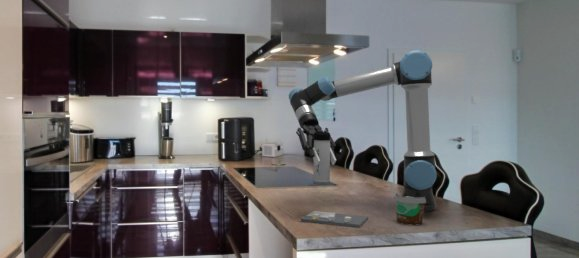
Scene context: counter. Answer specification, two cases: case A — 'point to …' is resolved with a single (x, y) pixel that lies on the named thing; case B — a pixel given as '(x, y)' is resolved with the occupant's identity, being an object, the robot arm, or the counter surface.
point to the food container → (409, 209)
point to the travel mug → (322, 158)
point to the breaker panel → (335, 219)
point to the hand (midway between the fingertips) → (326, 162)
